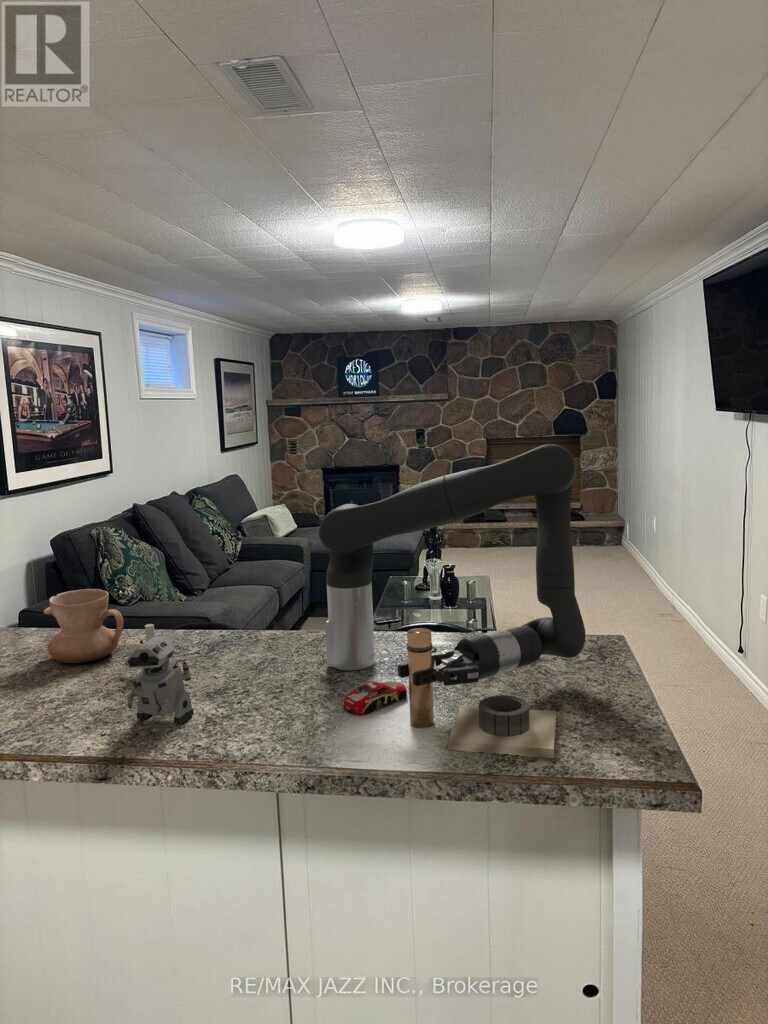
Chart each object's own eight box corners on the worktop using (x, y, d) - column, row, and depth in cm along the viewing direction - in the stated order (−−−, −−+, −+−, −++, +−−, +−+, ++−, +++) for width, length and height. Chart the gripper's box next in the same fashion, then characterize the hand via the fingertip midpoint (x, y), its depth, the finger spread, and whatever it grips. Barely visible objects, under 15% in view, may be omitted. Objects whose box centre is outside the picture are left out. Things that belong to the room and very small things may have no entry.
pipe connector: (117, 677, 154) (113, 630, 153) (149, 661, 163) (145, 616, 162) (157, 682, 150) (153, 634, 149) (187, 666, 160) (184, 620, 158)
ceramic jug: (29, 667, 162) (23, 603, 160) (68, 645, 176) (63, 586, 174) (107, 671, 159) (102, 606, 157) (140, 648, 173) (135, 588, 171)
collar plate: (448, 750, 117) (447, 719, 117) (461, 713, 131) (461, 685, 130) (553, 758, 113) (553, 727, 113) (556, 719, 127) (556, 691, 126)
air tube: (407, 727, 126) (404, 635, 124) (412, 716, 130) (409, 627, 128) (432, 729, 125) (429, 636, 123) (436, 718, 129) (433, 628, 127)
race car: (393, 690, 143) (393, 670, 143) (413, 698, 139) (412, 677, 138) (338, 710, 135) (337, 689, 134) (357, 719, 130) (356, 697, 130)
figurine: (115, 735, 127) (107, 649, 125) (156, 708, 138) (150, 629, 136) (161, 741, 124) (153, 653, 122) (199, 713, 135) (193, 632, 133)
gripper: (463, 624, 139) (383, 642, 130) (514, 644, 127) (429, 666, 118) (464, 663, 140) (385, 684, 131) (514, 687, 128) (431, 711, 119)
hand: (406, 675), depth 125 cm, fingers closed on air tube, 4 cm apart
